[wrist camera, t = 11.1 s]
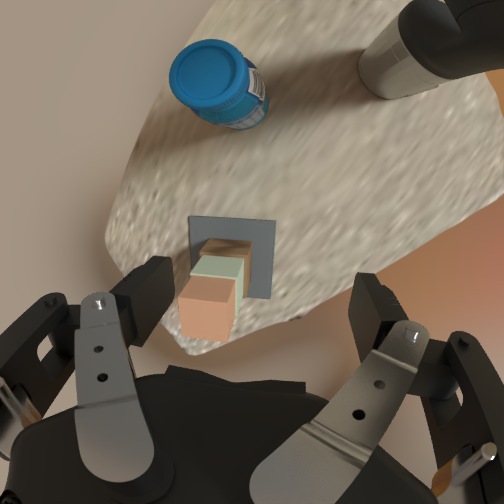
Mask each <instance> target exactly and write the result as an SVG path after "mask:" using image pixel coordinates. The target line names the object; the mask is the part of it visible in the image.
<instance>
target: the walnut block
mask: <svg viewBox="0 0 504 504" xmlns="http://www.w3.org/2000/svg"><path fill="white" fill-rule="evenodd" d="M252 242H253V241H244V240H230V239H216V238H210V239H209V240H208V241H207V243H206V244H205V245H204V246H203V248H202V249H201V250H200V258H201V257H202V256H203V255H209V256H221V257H234V258H244V278H243V297H242V298H246V297H247V294H248V290H249V286H250V282H251V267H252Z"/></svg>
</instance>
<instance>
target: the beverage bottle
mask: <svg viewBox="0 0 504 504" xmlns="http://www.w3.org/2000/svg"><path fill="white" fill-rule="evenodd" d="M169 83H170V87H171V90H172V92H173V94H174V95H175V97H176V98H177V99H178V100H179V101H181V103H183V104H184V105H186V106H188V107H190V108H191V109H192V111H193V112H194V113H195V114H196V115H197V116H199V117H200V118H202V119H204V120H206V121H208V122H210V123H212V124H215V125H219V126H227V127H229V128H232V129H237V130H244V129H249V128H252V127H254V126H256V125H257V124H258V123H260V122H261V121H262V120H263V118H264V117H265V115H266V113H267V111H268V106H269V101H268V96H267V94H266V92H265V85H264V81H263V79H262V77H261V75H260V73H259V72H258V70H257V68H256V67H255V66H254V64H253V63H252V62H250V61H249V60H248V59H246V58H245V57H243V55H242V54H241V52H239V50H237V48H235V47H234V46H233V45H231V44H229V43H227V42H225V41H222V40H217V39H206V40H201V41H198V42H195V43H193V44H191V45H189V46H187V47H186V48H185V49H183V50H182V51H181V52H180V53H179V54H178V56H177V57H176V58H175V60H174V61H173V63H172V66H171V68H170V72H169Z"/></svg>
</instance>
